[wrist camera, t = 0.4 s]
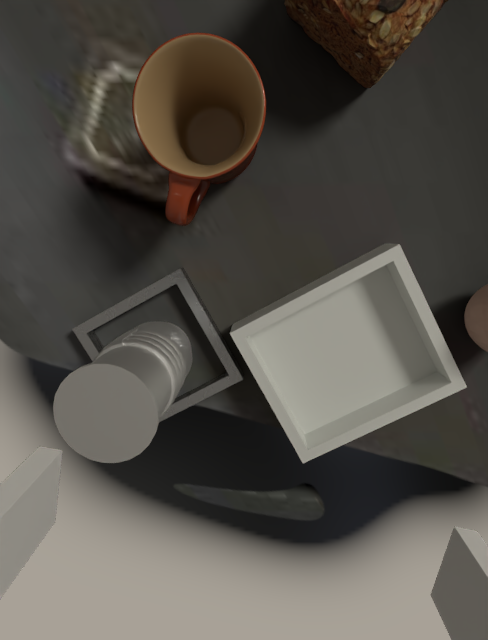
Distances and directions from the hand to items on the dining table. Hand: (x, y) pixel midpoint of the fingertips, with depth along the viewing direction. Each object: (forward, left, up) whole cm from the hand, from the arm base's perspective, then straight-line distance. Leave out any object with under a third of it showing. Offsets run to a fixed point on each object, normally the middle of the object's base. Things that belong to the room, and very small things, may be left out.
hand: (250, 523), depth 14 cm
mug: (-16, +4, -27) cm, 32 cm away
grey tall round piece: (-3, -9, -27) cm, 29 cm away
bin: (+5, +6, -27) cm, 28 cm away
